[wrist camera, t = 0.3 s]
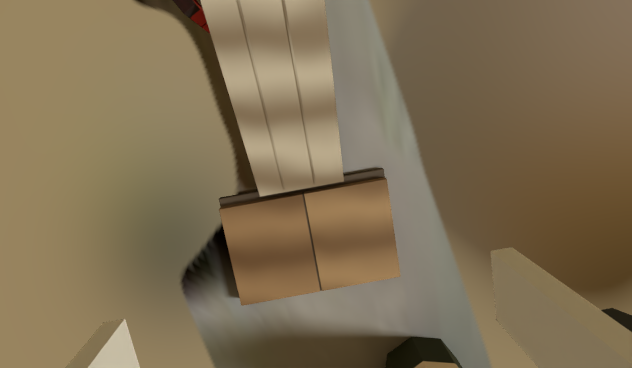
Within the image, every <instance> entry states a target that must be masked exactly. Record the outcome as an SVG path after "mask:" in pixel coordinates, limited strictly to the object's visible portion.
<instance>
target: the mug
mask: <svg viewBox="0 0 632 368" xmlns="http://www.w3.org/2000/svg"><path fill="white" fill-rule="evenodd" d="M173 1H174V2H175V3H176V4H177V6H178V7H179V8H180V9H181V11H182V12H183V13H184V14H185V15H186V16H188V17H189V18H190V19H192V20H193V21H194V22H196V23H197V24H198V25H200V26H201V27H202V28H203V29H204V30H206V31H207V32H208V33H210V31H209V27H208V24H207V21H206V17H205V14H204V11H203V8H202V6H201V5H200V4H199V3H198V2H197V0H173Z"/></svg>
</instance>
